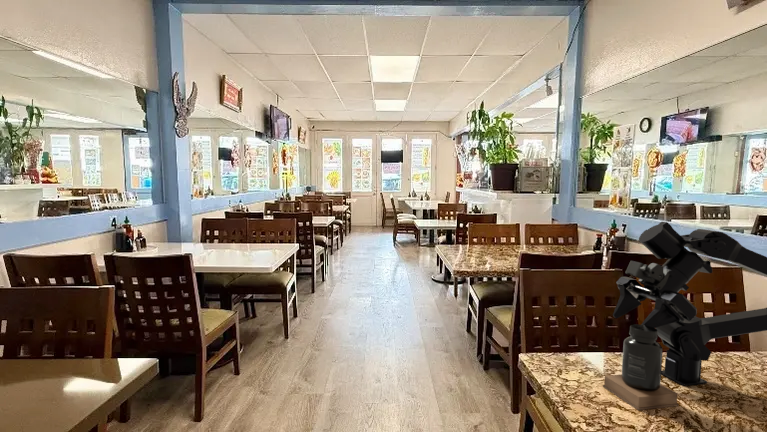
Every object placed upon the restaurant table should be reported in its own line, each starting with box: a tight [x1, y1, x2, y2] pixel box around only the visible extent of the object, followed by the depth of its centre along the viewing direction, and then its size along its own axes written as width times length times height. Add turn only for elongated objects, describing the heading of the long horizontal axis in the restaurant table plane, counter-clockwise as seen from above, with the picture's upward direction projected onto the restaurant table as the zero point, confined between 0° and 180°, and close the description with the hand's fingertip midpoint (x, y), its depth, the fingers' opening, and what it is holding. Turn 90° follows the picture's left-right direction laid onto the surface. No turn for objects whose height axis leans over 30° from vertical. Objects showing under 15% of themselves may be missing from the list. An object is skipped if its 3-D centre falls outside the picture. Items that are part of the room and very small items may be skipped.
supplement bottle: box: [621, 323, 663, 391], centre depth 83 cm, size 7×7×12 cm
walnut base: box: [602, 373, 679, 411], centre depth 83 cm, size 9×9×2 cm
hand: (627, 323), depth 90 cm, fingers open, 9 cm apart
